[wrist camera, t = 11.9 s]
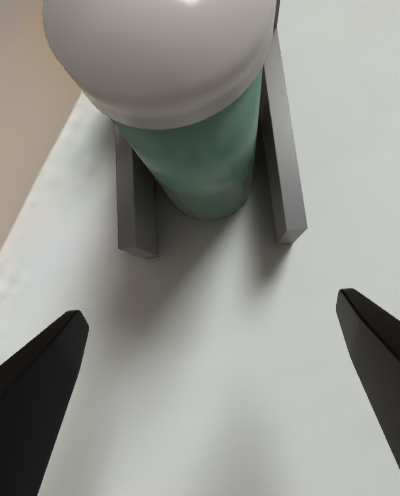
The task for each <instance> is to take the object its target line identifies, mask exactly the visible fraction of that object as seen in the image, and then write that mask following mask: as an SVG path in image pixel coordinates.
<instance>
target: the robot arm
mask: <svg viewBox="0 0 400 496" xmlns="http://www.w3.org/2000/svg"><path fill="white" fill-rule="evenodd" d="M336 312H337V316H338V319H339V322H340V326H341V329H342V332H343V335H344V339H345V342H346V345H347V348H348V351H349V354H350V357H351V360H352V362H353V365H354V367H355V369H356V372H357V374H358V376H359V378H360V381H361V383H362V385H363V387H364V390H365V392H366V394H367V396H368V399H369V401H370V403H371V405H372V408H373V410H374V412H375V415H376V417H377V419H378V421H379V424H380V426H381V428H382V430H383V433H384V435H385V437H386V439H387V442H388V444H389V446H390V448H391V451H392V453H393V455H394V458H395V460H396V462H397V464H398V467H399V469H400V321H399V320H398V319H396V318H395V317H394V316H392V315H391V314H389V313H388V312H386V311H385V310H384V309H382V308H381V307H379V306H378V305H377V304H375V303H374V302H372V301H371V300H369V299H368V298H367V297H365V296H364V295H362V294H361V293H360V292H358V291H357V290H355V289H353V288H347V289H340V290H339V292H338V298H337V304H336ZM88 332H89V326H88V323H87V321H86V320H85V318H84V316H83V314H82V313H81V311H79V310H70V311H67V312H65V313H64V314H63V315H62V316H61V317H59V318H58V319H57V320H56V321H54V322H53V323H52V324H51V325H49V326H48V327H47V328H46V329H45V330H43V331H42V332H41V333H40V334H38V335H37V336H36V337H35V338H34V339H32V340H31V341H30V342H29V343H27V344H26V345H25V346H24V347H22V348H21V349H20V350H19V351H18V352H16V353H15V354H14V355H13V356H11V357H10V358H9V359H8V360H7V361H5V362H4V363H3V364H2V365H0V496H37V495H38V492H39V489H40V486H41V483H42V480H43V477H44V474H45V471H46V468H47V465H48V462H49V459H50V456H51V453H52V451H53V448H54V445H55V442H56V439H57V436H58V433H59V430H60V427H61V424H62V421H63V418H64V415H65V412H66V409H67V406H68V403H69V400H70V397H71V394H72V392H73V389H74V386H75V383H76V380H77V377H78V374H79V370H80V367H81V363H82V358H83V354H84V349H85V345H86V341H87V336H88Z"/></svg>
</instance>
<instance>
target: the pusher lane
mask: <svg viewBox="0 0 400 496" xmlns="http://www.w3.org/2000/svg"><path fill="white" fill-rule="evenodd" d="M279 5H280V0H277V1H276V10H275V18H274V27H273V36H272V41H271V45H270V50H269V52H268V55H267V58H266V60H265V63H264V65H263V69H262V81H261V92H260V103H259V109H260V117H261V124H262V132H263V140H264V147H265V155H266V162H267V170H268V178H269V185H270V193H271V200H272V208H273V215H274V223H275V231H276V238H277V244H286V243H294V242H295V240H296V239H297V238H298V237H299V236H300V235H301V234H302V233H303V232H304V231H305V230H306V229H307V222H306V215H305V209H304V202H303V196H302V189H301V183H300V176H299V170H298V163H297V156H296V150H295V143H294V137H293V130H292V124H291V117H290V111H289V104H288V98H287V91H286V85H285V78H284V72H283V65H282V59H281V52H280V46H279V39H278V33H277V21H278V13H279ZM115 140H116V176H117V212H118V247H119V249H120V250H123V251H126V252H128V253H131V254H134V255H136V256H139V257H142V258H151V257H158V253H157V234H156V215H155V197H154V178H153V175H152V173H151V172H150V171H149V169H148V168H147V167H146V165H145V164H144V163H143V161H142V160H141V159H140V157H139V156H138V155H137V153H136V152H135V151H134V149H133V148H132V147H131V145H130V144H129V143H128V141H127V140H126V139H125V137H124V136H123V134H122V133H121V132H120V130H119V129H118V128H117V126H116V125H115Z"/></svg>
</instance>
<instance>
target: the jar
mask: <svg viewBox="0 0 400 496" xmlns="http://www.w3.org/2000/svg"><path fill="white" fill-rule="evenodd" d="M276 1H277V0H43V10H42V16H43V27H44V31H45V36H46V38H47V41H48V44H49V46H50V48H51V50H52V52H53V53H54V55H55V57H56V58H57V60H58V61H59V62H60V63H61V65H62V66H63V67H64V69H65V70H66V71H67V72H68V74H69V75H70V76H71V78H72V79H73V80H74V81H75V83H76V84H77V85H78V86H79V88H80V89H81V90H82V92H83V93H84V94H85V95H86V97H87V98H88V99H89V100H90V101H91V103H92V104H93V105H94V106H95V107H96V108H97V109H98V110H100V111H101V112H102V113H103V114H105V115H106V116H108V117H109V118H111V120H112V121H113V122H114V124H115V125H116V126H117V128H118V129H119V130H120V132H121V133H122V134H123V136H124V137H125V139H126V140H127V141H128V143H129V144H130V145H131V147H132V148H133V149H134V151H135V152H136V153H137V155H138V156H139V157H140V159H141V160H142V161H143V163H144V164H145V165H146V167H147V168H148V169H149V171H150V172H151V173H152V175H153V176H154V177H155V179H156V180H157V182H158V183H159V184H160V186H161V187H162V188H163V190H164V191H165V192H166V194H167V195H168V196H169V198H170V199H171V200H172V202H173V203H174V204H175V206H176V207H177V208H178V209H179V210H180V211H181V212H183V213H184V214H186V215H187V216H189V217H192V218H195V219H198V220H207V221H208V220H217V219H221V218H224V217H226V216H228V215H230V214H232V213H233V212H235V211H236V210H237V209H238V208H240V206H241V205H242V204H243V203H244V202H245V200H246V199H247V197H248V195H249V193H250V190H251V187H252V181H253V170H254V158H255V147H256V136H257V125H258V114H259V103H260V92H261V81H262V69H263V65H264V63H265V60H266V58H267V55H268V52H269V50H270V45H271V41H272V36H273V27H274V18H275V10H276Z"/></svg>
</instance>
